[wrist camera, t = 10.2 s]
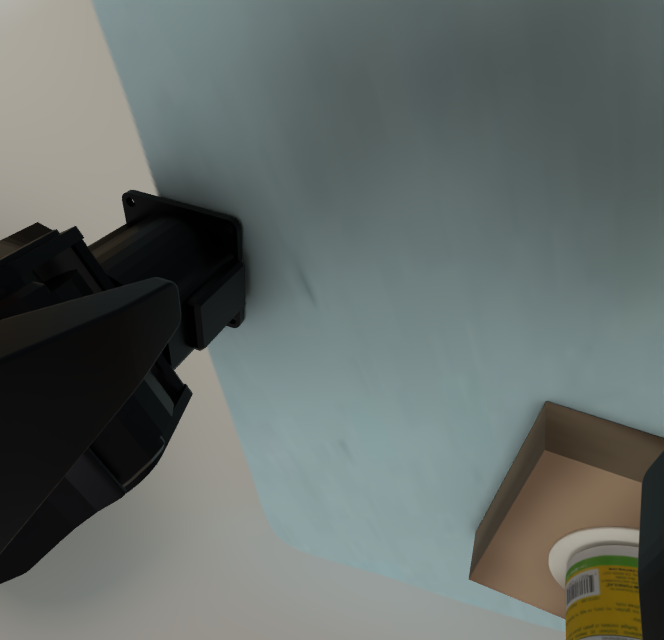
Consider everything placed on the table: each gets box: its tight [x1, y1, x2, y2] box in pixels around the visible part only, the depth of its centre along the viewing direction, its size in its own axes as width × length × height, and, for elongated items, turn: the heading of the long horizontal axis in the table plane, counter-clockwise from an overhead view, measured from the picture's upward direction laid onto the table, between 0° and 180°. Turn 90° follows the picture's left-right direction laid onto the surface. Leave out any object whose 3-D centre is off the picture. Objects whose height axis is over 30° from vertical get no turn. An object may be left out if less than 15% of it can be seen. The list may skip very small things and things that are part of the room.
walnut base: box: [469, 401, 664, 619], centre depth 24 cm, size 12×12×3 cm
